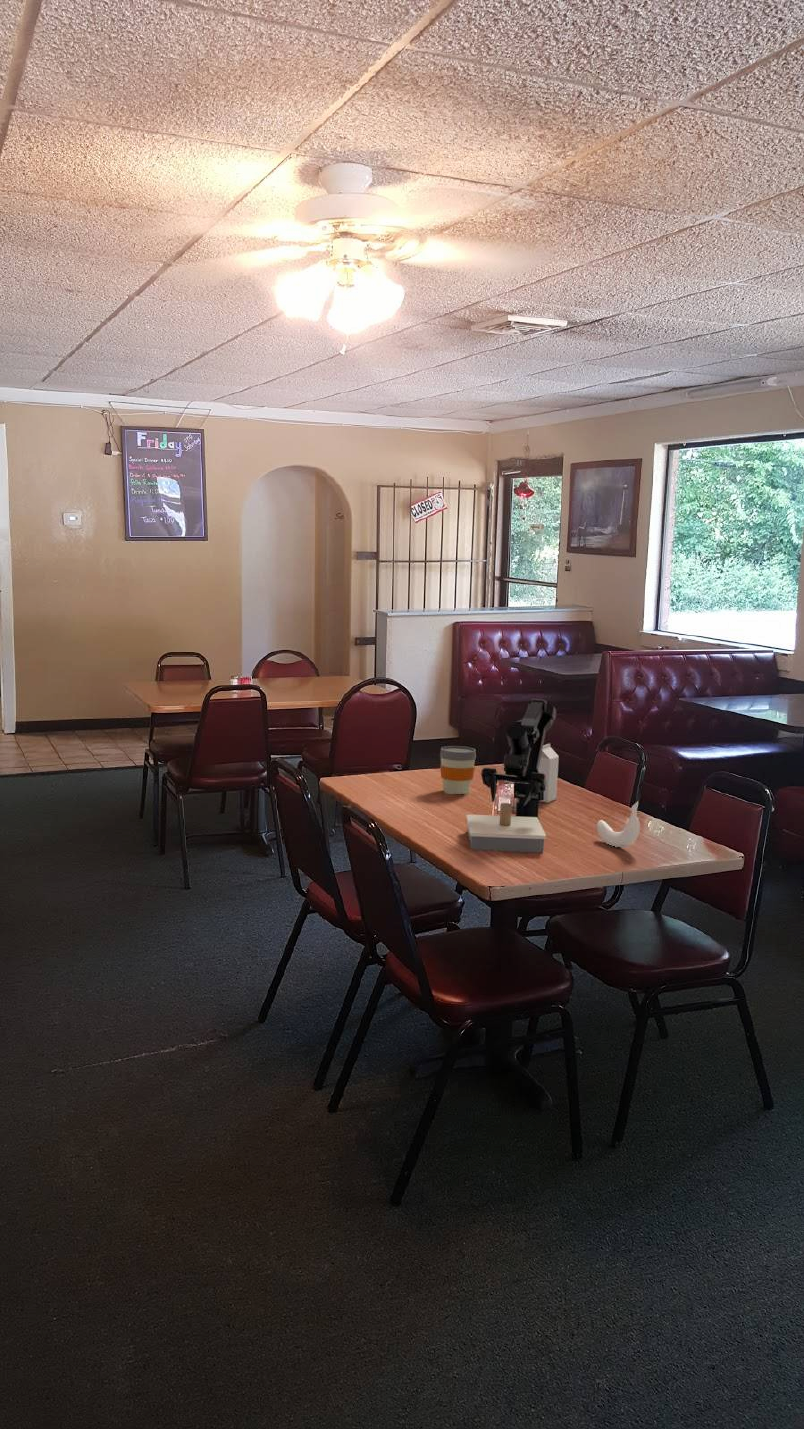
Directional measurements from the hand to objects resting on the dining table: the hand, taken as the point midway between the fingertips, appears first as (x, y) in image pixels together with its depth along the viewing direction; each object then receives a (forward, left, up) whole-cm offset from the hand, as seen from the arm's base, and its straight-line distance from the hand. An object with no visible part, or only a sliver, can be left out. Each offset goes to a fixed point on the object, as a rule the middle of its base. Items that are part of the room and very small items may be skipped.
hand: (508, 803), depth 309 cm
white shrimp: (-31, +3, -11) cm, 33 cm away
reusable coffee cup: (+12, -60, -11) cm, 63 cm away
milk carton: (-17, -53, -11) cm, 57 cm away
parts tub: (+1, +3, -11) cm, 11 cm away
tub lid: (+1, +3, -8) cm, 8 cm away
